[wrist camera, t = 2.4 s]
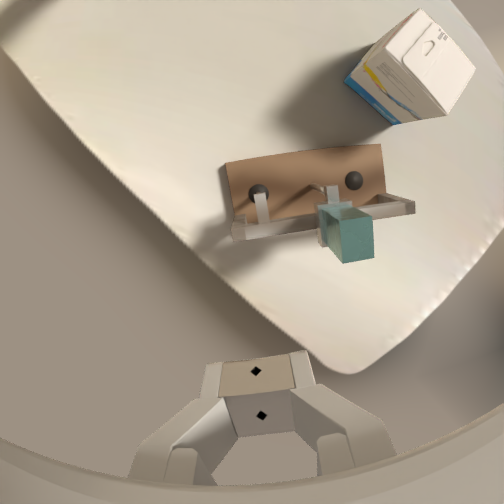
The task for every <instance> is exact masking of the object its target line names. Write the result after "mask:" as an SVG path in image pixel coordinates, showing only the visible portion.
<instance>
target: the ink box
mask: <svg viewBox="0 0 504 504" xmlns="http://www.w3.org/2000/svg"><path fill="white" fill-rule="evenodd" d="M475 70H476V69H475V67H474V65H473V64H472V63H471V61H470V60H469V59H468V58H467V56H466V55H465V54H464V53H463V51H462V50H461V49H460V48H459V47H458V45H457V44H456V43H455V42H454V41H453V40H452V39H451V38H450V36H449V35H448V34H447V33H446V32H445V31H444V30H443V29H442V28H441V27H440V26H439V25H438V24H437V23H436V22H435V21H434V20H433V19H432V18H431V17H430V16H429V15H428V14H427V13H425V12H424V11H423V10H422V9H421V8H419V9H417V10H416V11H414V12H413V13H412V14H410V15H409V16H408V17H406V18H405V19H404V20H403V21H401V22H400V23H399V24H398V25H396V26H395V27H394V28H393V29H391V30H390V31H389V32H388V33H386V34H385V35H384V36H383V37H382V38H380V39H379V40H378V41H377V42H376V43H375V44H374V45H373V46H372V47H371V48H370V50H369V51H368V52H367V53H366V54H365V55H364V57H363V58H362V59H361V60H360V62H359V63H358V64H357V65H356V67H355V68H354V69H353V70H352V72H351V73H350V74H349V75H348V76H347V77H346V78H345V79H344V83H345V84H347V85H348V86H350V87H351V88H352V89H353V90H354V91H355V92H357V93H358V94H359V95H360V96H361V97H362V98H363V99H364V100H366V101H367V102H368V103H369V104H370V105H371V106H372V107H373V108H374V109H376V110H377V111H378V112H379V113H380V114H381V115H382V116H383V117H384V118H385V119H387V120H388V121H389V122H390V123H391V124H392V125H397V124H402V123H407V122H412V121H417V120H423V119H429V118H435V117H441V116H447V115H448V113H449V112H450V110H451V109H452V107H453V106H454V104H455V103H456V101H457V100H458V98H459V96H460V95H461V93H462V92H463V90H464V89H465V87H466V85H467V84H468V82H469V80H470V79H471V77H472V75H473V74H474V72H475Z"/></svg>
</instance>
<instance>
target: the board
mask: <svg viewBox="0 0 504 504" xmlns="http://www.w3.org/2000/svg"><path fill="white" fill-rule="evenodd" d="M225 165H226V170H227V176H228V181H229V187H230V192H231V197H232V203H233V208H234V213H235V217H234V220H233V223H232V227H231V233H232V239H233V242H238V241H244V240H250V239H256V238H262V237H268V236H274V235H280V234H286V233H293V232H299V231H305V230H311V229H317V226H316V218H315V210H314V203H316V202H323V201H325V195H324V194H322V193H319V192H317V191H315V190H313V189H311V188H310V185H311V184H312V183H315V184H318V185H321V186H325V185H333V184H335V185H338V191H339V199H345V198H346V199H349V200H351V201H352V206H353V207H355V208H357V209H359V210H361V211H363V212H365V213H367V214H369V215H371V216H372V220H376V219H382V218H389V217H396V216H402V215H409V214H415V201H411V200H408V199H405V198H401V197H398V196H394V195H391V194H387V193H386V185H385V175H384V166H383V158H382V150H381V144H370V145H356V146H344V147H333V148H324V149H315V150H306V151H298V152H291V153H283V154H276V155H270V156H263V157H257V158H251V159H245V160H239V161H234V162H228V163H225Z"/></svg>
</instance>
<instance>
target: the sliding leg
mask: <svg viewBox="0 0 504 504" xmlns="http://www.w3.org/2000/svg"><path fill="white" fill-rule="evenodd" d="M310 188H311V189H313V190H315V191H317V192H319V193H322V194H324V195H325V201H323V202H316V203H314V210H315V218H316V226H317V235H318V243H319V244H320V245H321V246H322V247H329V248H330V249H331V251H332V252H333V253H334V254H335V255H336V256H337V258H338V259H339V260H340V261H341V262H342V263H349V262H354V261H360V260H365V259H370V258H374V239H373V221H372V216H371V215H369V214H367V213H365V212H363V211H361V210H359V209H357V208H355V207H353V206H352V201H351V200H349V199H346V198H345V199H339V191H338V185H335V184H333V185H325V186H321V185H318V184H315V183H312V184H311V185H310Z"/></svg>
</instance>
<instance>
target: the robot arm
mask: <svg viewBox="0 0 504 504" xmlns="http://www.w3.org/2000/svg"><path fill="white" fill-rule="evenodd" d="M291 431H295V432H296V433H297V434H298V435H299V436H300V437H301V438H302V439H303V440H304V441H305V442H306V443H307V444H308V445H309V446H310V447H311V448H312V449H313V450H315V451H316V452H317V476H316V477H311V478H305V479H299V480H292V481H284V482H276V483H265V484H253V485H229V486H227V485H226V486H218V485H217V483H216V482H215V481H214V479H213V477H212V475H211V474H212V473H213V471H214V470H215V469H216V468H217V466H218V465H219V464H220V462H221V461H222V460H223V458H224V457H225V456H226V454H227V453H228V451H229V450H230V449H231V448H232V446H233V445H234V444H235V442H236V441H237V440H238V438H237V437H247V436H256V435H264V434H273V433H282V432H291ZM0 504H504V403H503V404H501V405H500V406H498V407H497V408H495V409H493V410H492V411H490V412H488V413H487V414H485V415H483V416H482V417H480V418H478V419H476V420H475V421H473V422H471V423H469V424H467V425H465V426H463V427H461V428H460V429H457V430H455V431H454V432H451V433H449V434H447V435H445V436H443V437H441V438H438V439H436V440H434V441H432V442H429V443H427V444H425V445H423V446H420V447H417V448H415V449H412V450H410V451H407V452H404V453H401V454H399V455H397V453H396V451H395V449H394V446H393V444H392V442H391V439H390V437H389V435H388V432H387V430H386V428H385V425H384V423H383V421H382V420H381V419H379V418H377V417H376V416H374V415H372V414H370V413H369V412H367V411H365V410H363V409H362V408H360V407H358V406H357V405H355V404H353V403H351V402H350V401H348V400H347V399H345V398H343V397H342V396H340V395H338V394H336V393H335V392H333V391H332V390H330V389H328V388H327V387H325V386H324V385H322V384H317V385H316V383H315V379H314V376H313V372H312V369H311V364H310V361H309V357H308V354H307V351H306V350H302V351H298V352H293V353H289V354H285V355H279V356H272V357H266V358H259V359H248V360H238V361H227V362H216V363H208V364H207V365H206V367H205V372H204V376H203V381H202V385H201V390H200V394H199V399H193V400H192V401H191V402H190V403H189V404H188V405H186V406H185V407H184V408H183V409H182V410H181V411H180V412H178V413H177V414H176V415H175V416H174V417H172V418H171V419H170V420H169V421H168V422H166V423H165V424H164V425H163V426H162V427H160V428H159V429H158V430H157V431H155V432H154V433H153V434H152V435H150V436H149V437H148V438H147V439H145V440H144V441H143V442H142V443H140V444H139V447H138V449H137V452H136V455H135V458H134V461H133V463H132V466H131V469H130V473H129V475H128V478H125V477H120V476H114V475H109V474H105V473H100V472H96V471H92V470H88V469H84V468H80V467H77V466H73V465H70V464H67V463H63V462H60V461H57V460H54V459H51V458H48V457H45V456H43V455H40V454H37V453H35V452H32V451H29V450H27V449H25V448H22V447H20V446H17V445H15V444H13V443H11V442H8V441H6V440H4V439H2V438H0Z"/></svg>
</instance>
